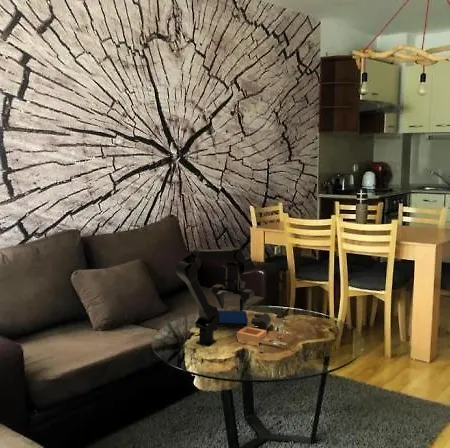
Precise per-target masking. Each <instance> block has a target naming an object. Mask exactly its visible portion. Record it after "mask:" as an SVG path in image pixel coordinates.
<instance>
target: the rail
mask: <svg viewBox="0 0 450 448" xmlns="http://www.w3.org/2000/svg"><path fill="white" fill-rule="evenodd" d="M277 335H278V336H282V337H283V333H282V332H280V331H279V332H278V331H277V332H276V336H277ZM236 336H237V333H236ZM260 340H262V341H269V342H273V343H278V344H282V345H285V346H286V345H287V346H288V343H287V342H283V341H279V340H274V339H269V338H266V339H265V338H262V339H260ZM259 348H260V349H264V348H265V349H266V346H265V345H264V346H263V345H260V346H258V349H259Z"/></svg>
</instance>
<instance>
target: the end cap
mask: <svg viewBox="0 0 450 448" xmlns="http://www.w3.org/2000/svg"><path fill="white" fill-rule="evenodd" d="M271 320H272V317H271V316H270V314H268V313H267V312H264V313H263V314H260V313H258V314H257V313H255V314H254V315H253V317H252V319H251V322H250V323H251V325H253V326H250V327H251V328H256V329H261V330H266V331H267V330H268V327H270V326H269V325H270V324H271ZM255 326H258V327H255Z"/></svg>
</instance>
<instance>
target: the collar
mask: <svg viewBox="0 0 450 448" xmlns="http://www.w3.org/2000/svg"><path fill="white" fill-rule="evenodd" d="M251 327H252V326H246V327H243V328H241V329H240V330H238V331H236V334H237V339H242V340H248V341H253V342H259V341H260V339H262V338H265V337H266V338H267V334H268V333H267V330H261V329H256V328H251ZM237 339H236V340H237Z"/></svg>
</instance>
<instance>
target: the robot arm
mask: <svg viewBox="0 0 450 448" xmlns="http://www.w3.org/2000/svg"><path fill="white" fill-rule="evenodd" d="M205 260H206V261H207V260H208V261H209V260H225V262H224V263H222V265H221V266H222V267H224V268H225V270H226V271H225V278H224V282H225V285H224V284H219V283H216V284H215V285H212V286H211V288H210V293H211V294H212V295H213V296H214V297H215V299H216V300H217V302H218V303H219V306H220V308H221V310H223V309H224V306H225V293H226V294H232V295H238V296H240V298H239V311H240V312H242V311H244V308H245V306H246V303H247V302H248V300H251V299H252V298H253V297H255V292H254V289H251V288H250V289H249V288H245V285H246V281H243V280H241V279H242V278H241V277H240V275H244V274H245V275H246V274H251V273H254V271H255V264H254V262H253V261H252V257H249V256H247V257H245V256H244V254H243V252H242V249H241V248H237V247H234V246H225V247H222V248H219V249H198V248H196V249H193V250H192V251H191V253H189V254H187V255H186V256H185V257H183V258H182V259H181V260H180V261H179V262H177V264H176V266H175V268H174V270H175V273H176V275H177V276H178V277H179V278H180V279H181V280H182V282H185V284H186V286H187V288H188V290H189V292H190V294H191V296H192V298H193V300H194V302H195V304H196V305H197V307H198V316H199V317H198V318H197V319H196V321H195V322H194V324H195V327H196V328H197V329H199V331H198V332H199V333H198V334H199V335H198V336H199V340H197V341H196V344H197V345H202V346H206V347H210V346H212V345H213V344H215V343H216V342H217V339H214V338H215V337H214V335H215V333H214V332H215V331H217V330H218V327H219V326H218V324H219V320H220V316H219V315H220V313H219V312H218V311H219V310H218V308H217V306H215V305H212V304H210V303H209V301H208V299H207V297H206V294H205V293H204V290H203V289H202V287H201V285H200V282H199V280H198V271H199V270H200V269H201V266H202V263H203V262H204V261H205ZM214 342H215V343H214ZM211 344H212V345H211Z"/></svg>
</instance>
